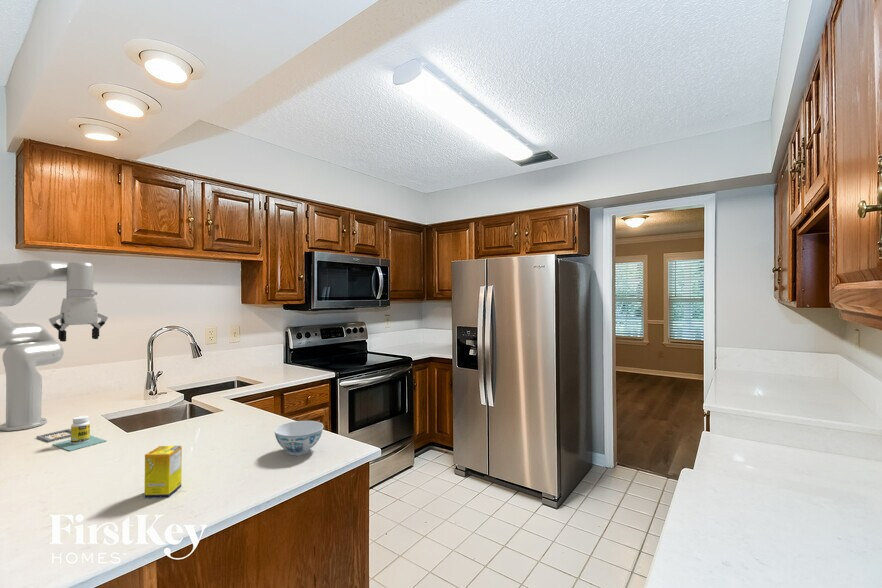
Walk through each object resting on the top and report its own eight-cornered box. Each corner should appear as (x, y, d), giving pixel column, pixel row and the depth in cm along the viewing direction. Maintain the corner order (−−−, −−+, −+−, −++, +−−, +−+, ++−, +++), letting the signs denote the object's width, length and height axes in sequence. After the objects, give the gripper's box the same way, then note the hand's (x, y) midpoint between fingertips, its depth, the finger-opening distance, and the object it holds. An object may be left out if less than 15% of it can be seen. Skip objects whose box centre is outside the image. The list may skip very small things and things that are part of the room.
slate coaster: (36, 437, 141) (36, 436, 141) (69, 430, 149) (69, 428, 149) (48, 442, 137) (48, 440, 137) (81, 434, 145) (81, 432, 145)
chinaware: (332, 446, 135) (332, 423, 135) (303, 463, 121) (303, 438, 121) (295, 440, 140) (295, 418, 140) (263, 456, 126) (263, 432, 126)
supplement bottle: (78, 445, 134) (78, 419, 134) (66, 444, 135) (67, 418, 135) (93, 440, 139) (93, 415, 139) (82, 439, 140) (82, 414, 140)
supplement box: (158, 487, 106) (158, 445, 106) (182, 486, 106) (182, 445, 106) (143, 498, 100) (143, 454, 100) (168, 497, 100) (169, 453, 100)
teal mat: (52, 445, 135) (52, 444, 135) (89, 435, 144) (89, 435, 144) (69, 451, 129) (69, 450, 129) (106, 441, 138) (106, 440, 138)
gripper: (102, 294, 161) (101, 337, 161) (45, 294, 146) (44, 341, 146) (112, 294, 158) (111, 338, 158) (54, 294, 142) (54, 342, 142)
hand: (79, 340), depth 152 cm, fingers open, 9 cm apart
